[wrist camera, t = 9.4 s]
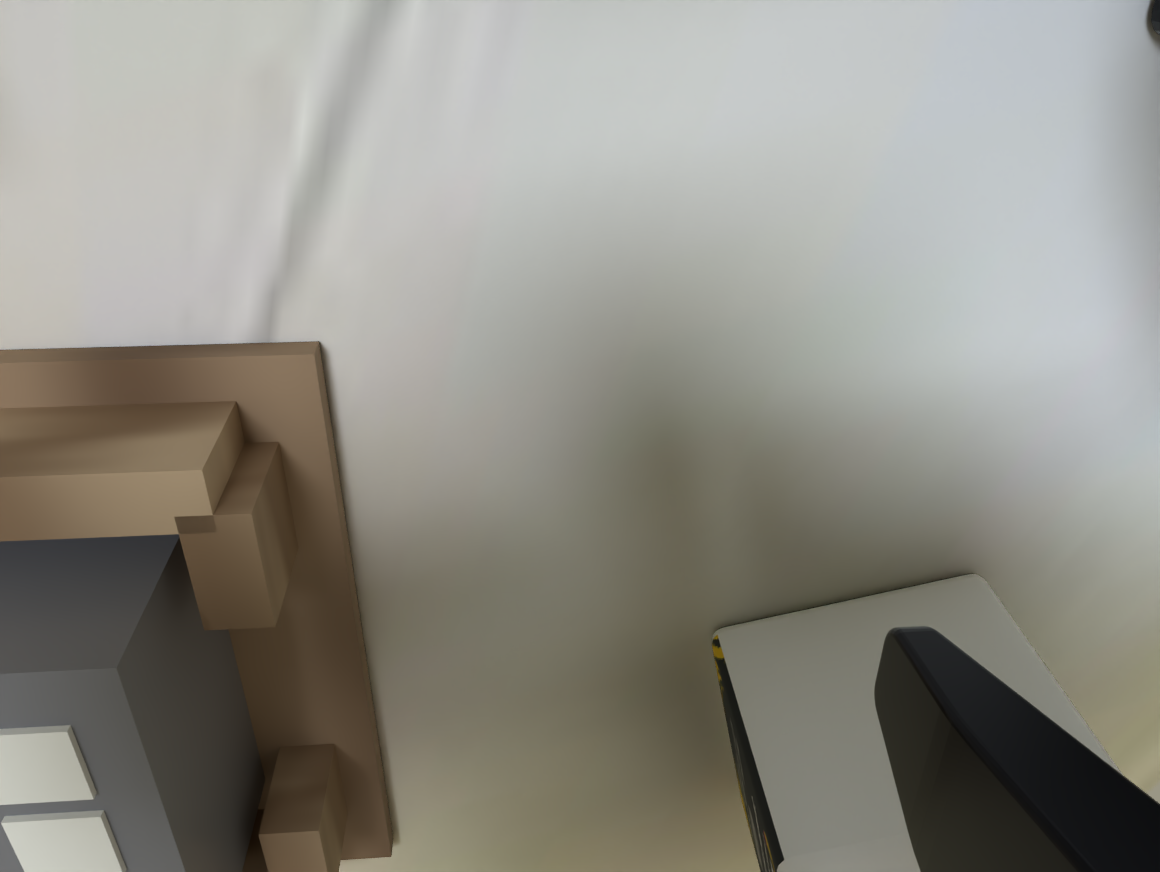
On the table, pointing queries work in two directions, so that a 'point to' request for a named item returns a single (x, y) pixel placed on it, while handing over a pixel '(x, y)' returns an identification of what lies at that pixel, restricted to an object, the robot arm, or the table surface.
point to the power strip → (118, 714)
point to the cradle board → (223, 548)
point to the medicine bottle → (852, 718)
